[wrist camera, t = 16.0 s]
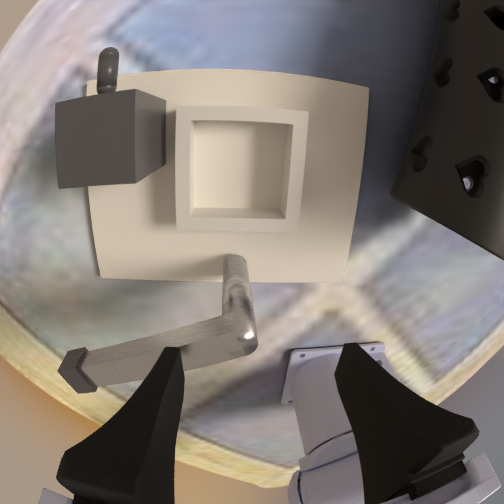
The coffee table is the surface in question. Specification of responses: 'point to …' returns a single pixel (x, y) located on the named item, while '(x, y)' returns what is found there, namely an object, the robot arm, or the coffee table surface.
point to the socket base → (239, 179)
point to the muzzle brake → (461, 127)
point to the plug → (109, 133)
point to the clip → (174, 341)
